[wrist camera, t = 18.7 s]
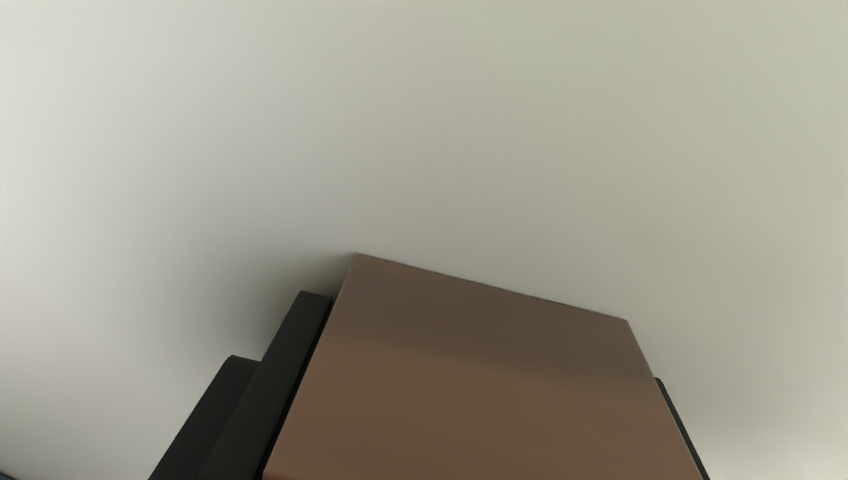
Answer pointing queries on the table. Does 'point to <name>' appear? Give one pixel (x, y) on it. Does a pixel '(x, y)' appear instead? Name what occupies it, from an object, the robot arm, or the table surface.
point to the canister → (4, 478)
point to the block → (473, 389)
